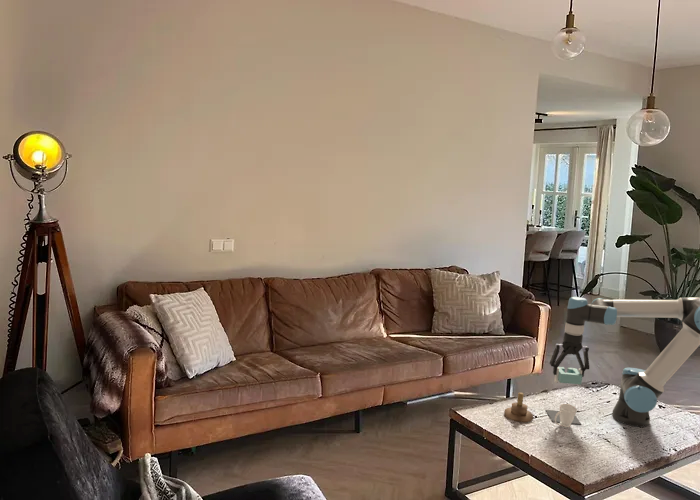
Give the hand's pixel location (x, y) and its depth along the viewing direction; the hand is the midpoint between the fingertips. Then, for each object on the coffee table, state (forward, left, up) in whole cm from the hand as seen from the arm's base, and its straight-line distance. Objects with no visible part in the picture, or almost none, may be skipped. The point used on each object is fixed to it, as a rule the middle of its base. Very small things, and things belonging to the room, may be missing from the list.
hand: (567, 382), depth 256 cm
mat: (0, 0, -16) cm, 16 cm away
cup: (+2, +8, -16) cm, 18 cm away
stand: (+20, +3, -16) cm, 26 cm away
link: (0, 0, +1) cm, 1 cm away
